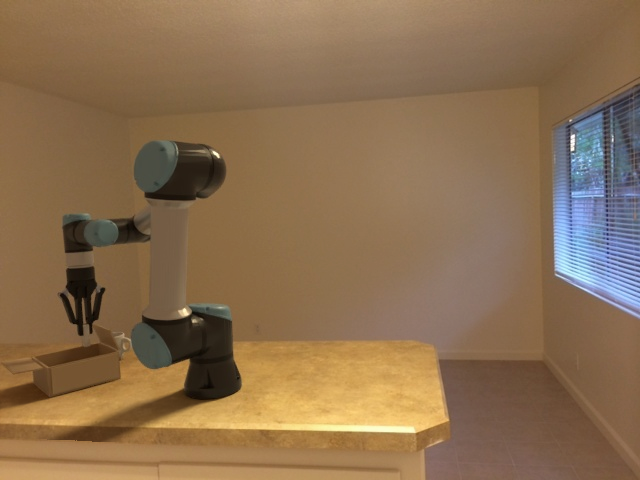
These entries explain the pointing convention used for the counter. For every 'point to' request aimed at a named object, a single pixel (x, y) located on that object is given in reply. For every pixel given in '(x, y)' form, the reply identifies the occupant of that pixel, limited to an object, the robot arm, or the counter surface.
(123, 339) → the cup
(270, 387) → the counter surface
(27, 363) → the flap near
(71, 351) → the carton
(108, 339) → the flap far
